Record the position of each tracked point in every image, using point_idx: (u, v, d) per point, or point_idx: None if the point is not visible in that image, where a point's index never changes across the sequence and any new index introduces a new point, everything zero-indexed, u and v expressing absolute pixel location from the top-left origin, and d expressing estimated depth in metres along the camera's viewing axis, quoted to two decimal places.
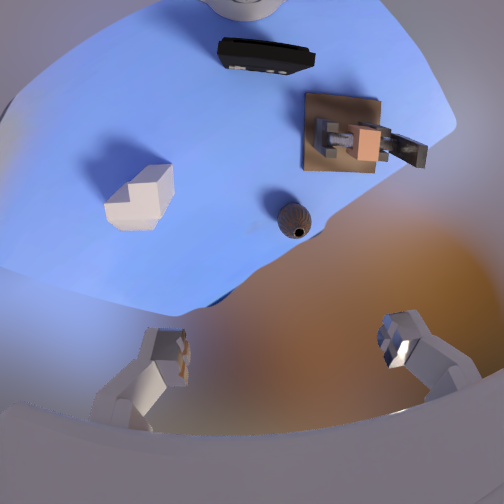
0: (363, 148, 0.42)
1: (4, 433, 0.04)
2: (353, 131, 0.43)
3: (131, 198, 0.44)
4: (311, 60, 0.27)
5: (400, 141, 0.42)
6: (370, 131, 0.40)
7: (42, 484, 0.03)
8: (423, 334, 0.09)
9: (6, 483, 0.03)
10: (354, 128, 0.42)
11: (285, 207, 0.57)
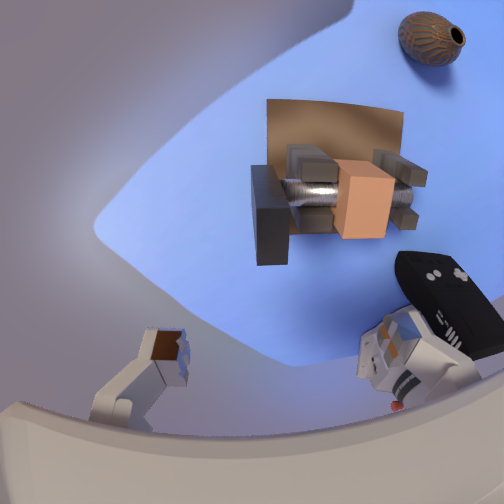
0: (382, 202, 0.21)
1: (4, 433, 0.04)
2: None
3: None
4: None
5: None
6: (364, 236, 0.22)
7: (42, 484, 0.03)
8: (423, 334, 0.09)
9: (6, 483, 0.03)
10: None
11: None
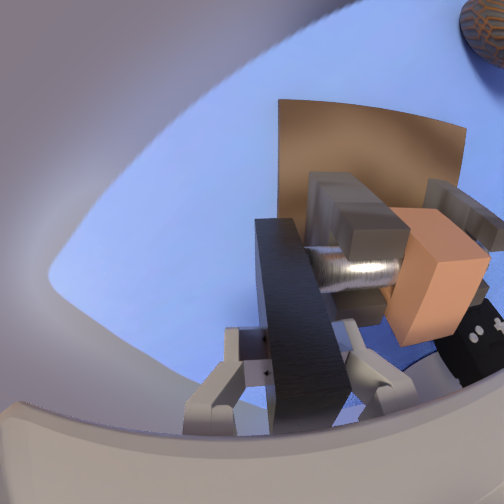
0: (466, 293, 0.11)
1: (4, 433, 0.04)
2: None
3: None
4: None
5: None
6: (430, 338, 0.13)
7: (42, 484, 0.03)
8: (355, 347, 0.09)
9: (6, 483, 0.03)
10: None
11: None
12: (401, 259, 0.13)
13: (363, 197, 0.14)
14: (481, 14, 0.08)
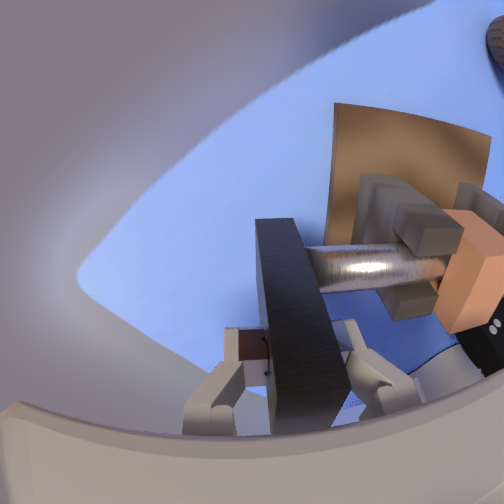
0: (501, 285, 0.11)
1: (4, 433, 0.04)
2: None
3: None
4: None
5: None
6: (471, 326, 0.13)
7: (42, 484, 0.03)
8: (356, 347, 0.09)
9: (6, 483, 0.03)
10: None
11: None
12: (401, 259, 0.13)
13: (418, 199, 0.15)
14: None
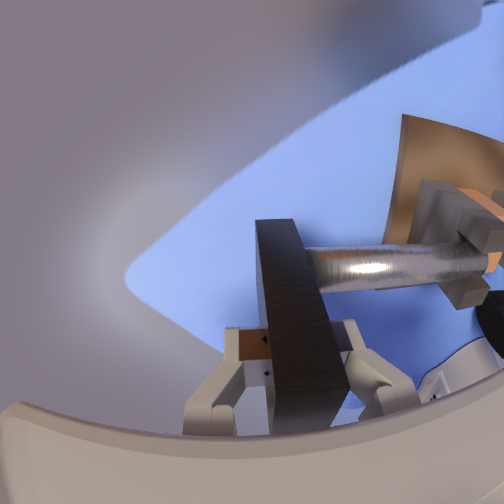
0: None
1: (4, 433, 0.04)
2: None
3: None
4: None
5: None
6: None
7: (42, 484, 0.03)
8: (355, 347, 0.09)
9: (6, 483, 0.03)
10: None
11: None
12: (400, 260, 0.13)
13: (474, 205, 0.15)
14: None
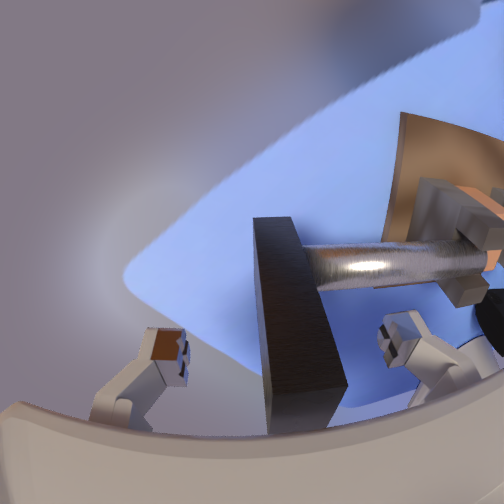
0: None
1: (4, 432, 0.04)
2: None
3: None
4: None
5: None
6: None
7: (42, 484, 0.03)
8: (423, 334, 0.09)
9: (6, 483, 0.03)
10: None
11: None
12: (399, 258, 0.13)
13: (473, 202, 0.15)
14: None
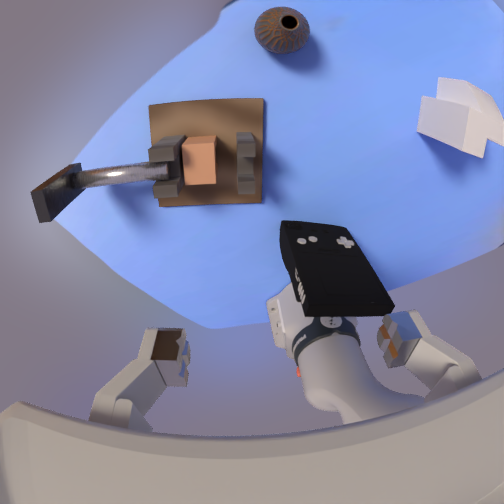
0: (207, 159, 0.33)
1: (4, 433, 0.04)
2: (216, 171, 0.37)
3: (485, 141, 0.27)
4: (310, 310, 0.30)
5: (71, 194, 0.30)
6: (200, 182, 0.35)
7: (42, 484, 0.03)
8: (423, 334, 0.09)
9: (6, 483, 0.03)
10: (216, 175, 0.37)
11: (295, 50, 0.29)
12: (107, 171, 0.31)
13: (171, 141, 0.32)
14: None
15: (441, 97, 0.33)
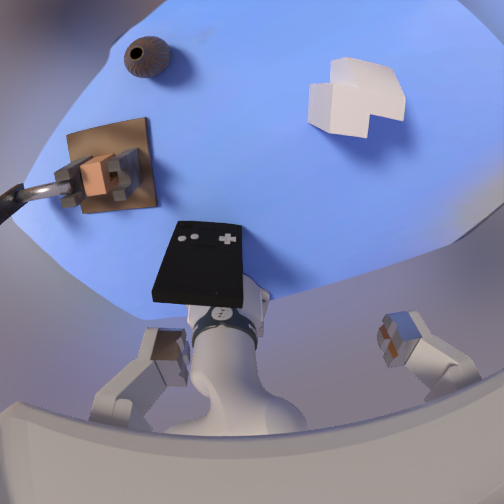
0: (97, 175, 0.38)
1: (4, 433, 0.04)
2: (111, 183, 0.42)
3: (367, 118, 0.31)
4: (155, 295, 0.34)
5: (15, 207, 0.36)
6: (96, 193, 0.40)
7: (42, 484, 0.03)
8: (423, 334, 0.09)
9: (6, 483, 0.03)
10: (111, 187, 0.42)
11: (161, 71, 0.34)
12: (34, 189, 0.36)
13: (74, 163, 0.37)
14: None
15: (332, 81, 0.37)
